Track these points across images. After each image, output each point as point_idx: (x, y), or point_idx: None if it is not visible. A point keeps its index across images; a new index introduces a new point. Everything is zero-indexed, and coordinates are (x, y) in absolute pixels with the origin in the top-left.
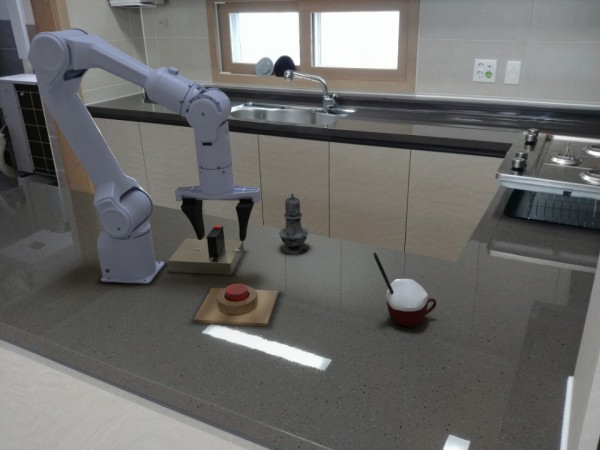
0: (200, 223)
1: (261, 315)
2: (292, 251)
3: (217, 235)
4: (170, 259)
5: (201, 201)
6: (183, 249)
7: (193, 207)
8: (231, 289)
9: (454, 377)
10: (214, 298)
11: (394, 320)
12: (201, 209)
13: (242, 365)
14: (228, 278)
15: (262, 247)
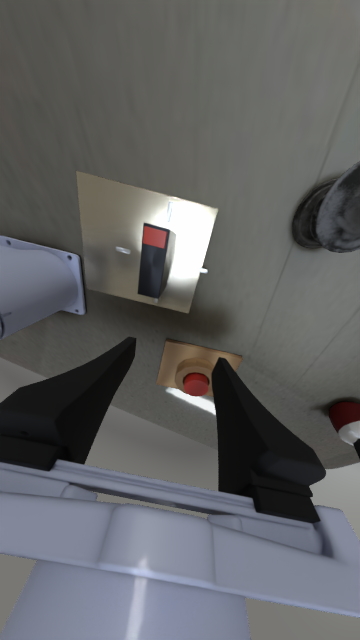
0: (118, 374)
1: None
2: (311, 242)
3: (160, 287)
4: (88, 285)
5: (78, 407)
6: (95, 245)
7: (80, 463)
8: (190, 389)
9: (321, 444)
10: (171, 360)
11: (329, 416)
12: (98, 386)
13: (196, 419)
14: (185, 313)
15: (257, 196)
